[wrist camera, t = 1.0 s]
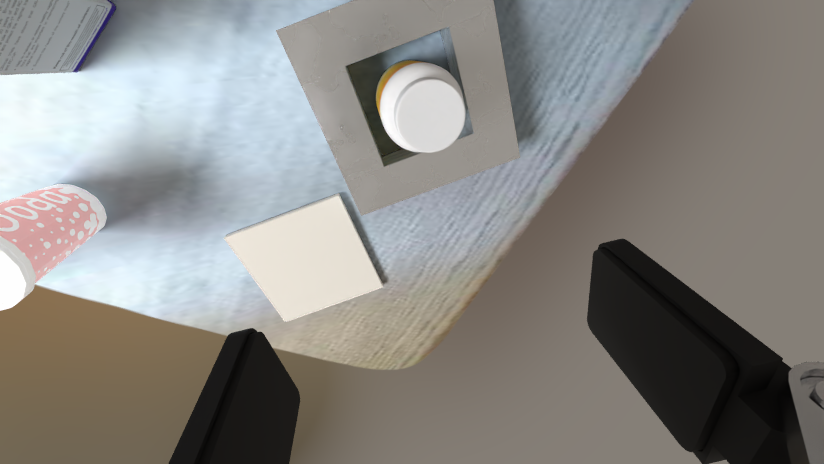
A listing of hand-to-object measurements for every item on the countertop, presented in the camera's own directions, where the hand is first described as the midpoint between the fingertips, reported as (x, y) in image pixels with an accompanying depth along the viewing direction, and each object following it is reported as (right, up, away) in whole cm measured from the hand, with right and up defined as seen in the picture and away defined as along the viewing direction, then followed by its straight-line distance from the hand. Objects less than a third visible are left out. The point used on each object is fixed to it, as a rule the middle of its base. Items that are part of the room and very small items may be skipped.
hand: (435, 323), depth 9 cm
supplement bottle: (-1, +14, +18) cm, 22 cm away
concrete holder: (-1, +13, +18) cm, 22 cm away
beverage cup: (-28, +4, +18) cm, 34 cm away
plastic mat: (-11, 0, +23) cm, 26 cm away
